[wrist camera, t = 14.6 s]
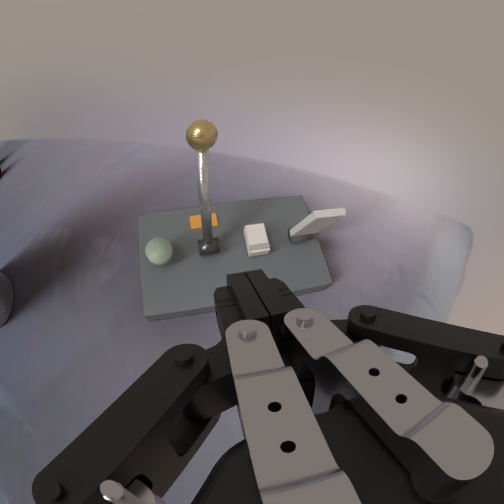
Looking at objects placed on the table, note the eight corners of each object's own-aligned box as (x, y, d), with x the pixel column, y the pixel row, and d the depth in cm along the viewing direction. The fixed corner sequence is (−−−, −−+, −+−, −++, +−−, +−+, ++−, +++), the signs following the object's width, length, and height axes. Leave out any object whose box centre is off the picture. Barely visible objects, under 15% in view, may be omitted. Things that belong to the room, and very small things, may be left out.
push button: (175, 268, 33) (173, 259, 30) (150, 271, 32) (146, 263, 30) (172, 245, 34) (170, 235, 32) (148, 248, 33) (144, 239, 31)
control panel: (324, 289, 38) (333, 282, 35) (149, 321, 33) (143, 315, 30) (296, 206, 43) (302, 194, 40) (142, 226, 38) (137, 214, 35)
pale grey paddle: (311, 241, 37) (347, 220, 27) (286, 244, 36) (317, 224, 27) (308, 226, 37) (342, 202, 28) (283, 230, 37) (313, 204, 27)
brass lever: (223, 259, 33) (219, 123, 22) (198, 262, 33) (185, 126, 21) (218, 243, 35) (215, 115, 24) (195, 246, 35) (184, 118, 23)
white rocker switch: (267, 253, 35) (270, 249, 33) (248, 256, 35) (251, 252, 33) (261, 227, 36) (264, 222, 34) (243, 230, 35) (245, 224, 34)
